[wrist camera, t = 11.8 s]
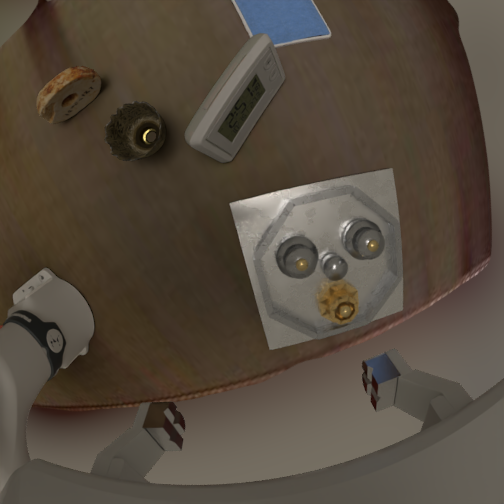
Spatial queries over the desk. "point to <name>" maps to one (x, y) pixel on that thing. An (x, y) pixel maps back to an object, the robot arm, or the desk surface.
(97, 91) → the stone disc
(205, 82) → the desk surface
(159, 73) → the desk surface
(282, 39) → the tablet computer
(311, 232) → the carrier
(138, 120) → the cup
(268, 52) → the digital clock
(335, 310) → the flanged octagonal bushing
